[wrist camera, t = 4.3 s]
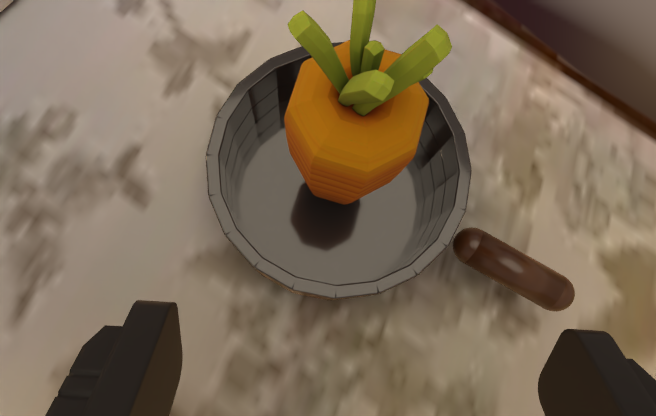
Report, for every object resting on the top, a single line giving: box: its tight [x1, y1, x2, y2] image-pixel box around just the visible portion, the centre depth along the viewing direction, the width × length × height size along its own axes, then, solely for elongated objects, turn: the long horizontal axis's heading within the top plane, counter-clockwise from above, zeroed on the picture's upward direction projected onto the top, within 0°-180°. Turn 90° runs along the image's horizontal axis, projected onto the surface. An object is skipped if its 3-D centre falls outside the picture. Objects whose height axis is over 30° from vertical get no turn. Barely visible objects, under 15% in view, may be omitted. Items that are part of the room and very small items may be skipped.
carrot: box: [284, 0, 452, 205], centre depth 19 cm, size 5×5×15 cm
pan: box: [206, 42, 471, 300], centre depth 24 cm, size 12×12×4 cm
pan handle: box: [453, 228, 575, 311], centre depth 23 cm, size 6×2×2 cm, turn 61°
